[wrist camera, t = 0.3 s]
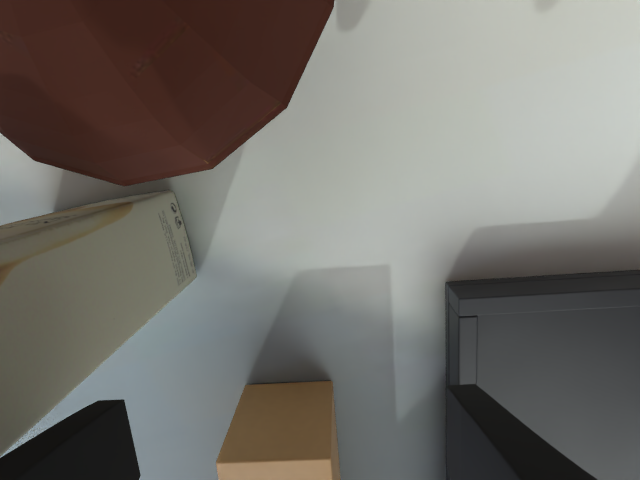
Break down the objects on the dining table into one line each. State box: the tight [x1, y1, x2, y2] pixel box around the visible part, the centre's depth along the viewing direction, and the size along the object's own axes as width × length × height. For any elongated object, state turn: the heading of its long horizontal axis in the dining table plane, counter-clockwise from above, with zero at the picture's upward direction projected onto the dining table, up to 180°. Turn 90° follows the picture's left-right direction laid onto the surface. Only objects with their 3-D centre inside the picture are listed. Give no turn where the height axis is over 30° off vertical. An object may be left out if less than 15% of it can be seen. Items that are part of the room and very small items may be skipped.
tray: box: [445, 270, 640, 480], centre depth 19 cm, size 18×13×2 cm
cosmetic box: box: [0, 190, 197, 456], centre depth 12 cm, size 6×4×12 cm
